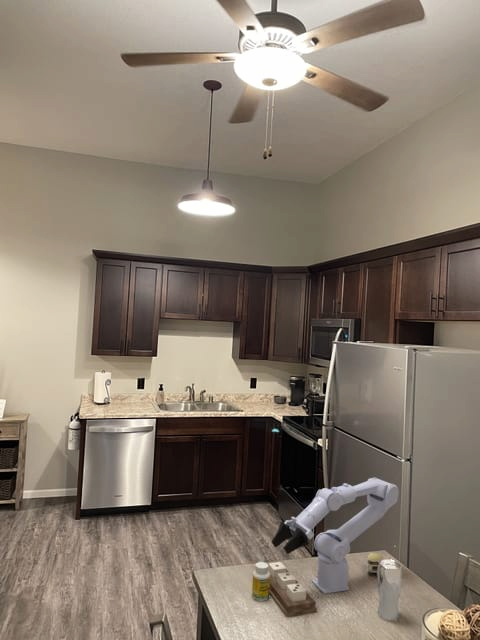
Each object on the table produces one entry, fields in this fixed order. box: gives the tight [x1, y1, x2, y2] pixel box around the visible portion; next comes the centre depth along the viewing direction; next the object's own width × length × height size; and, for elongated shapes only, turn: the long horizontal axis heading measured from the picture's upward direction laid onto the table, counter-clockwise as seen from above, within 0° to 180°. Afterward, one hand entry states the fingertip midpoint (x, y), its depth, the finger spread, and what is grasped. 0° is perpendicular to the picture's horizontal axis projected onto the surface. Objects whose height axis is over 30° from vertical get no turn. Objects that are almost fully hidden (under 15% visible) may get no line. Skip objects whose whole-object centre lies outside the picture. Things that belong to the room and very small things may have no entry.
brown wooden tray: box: [269, 568, 318, 618], centre depth 147 cm, size 10×22×3 cm, turn 20°
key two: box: [277, 571, 297, 590], centre depth 147 cm, size 4×4×3 cm
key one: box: [267, 561, 287, 579], centre depth 153 cm, size 4×4×3 cm
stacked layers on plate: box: [366, 552, 385, 576], centre depth 164 cm, size 10×9×6 cm
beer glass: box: [376, 558, 403, 622], centre depth 138 cm, size 7×7×15 cm
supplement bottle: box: [251, 561, 270, 601], centre depth 145 cm, size 5×5×10 cm
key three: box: [286, 582, 307, 602], centre depth 140 cm, size 4×4×3 cm
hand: (279, 547), depth 143 cm, fingers open, 7 cm apart
